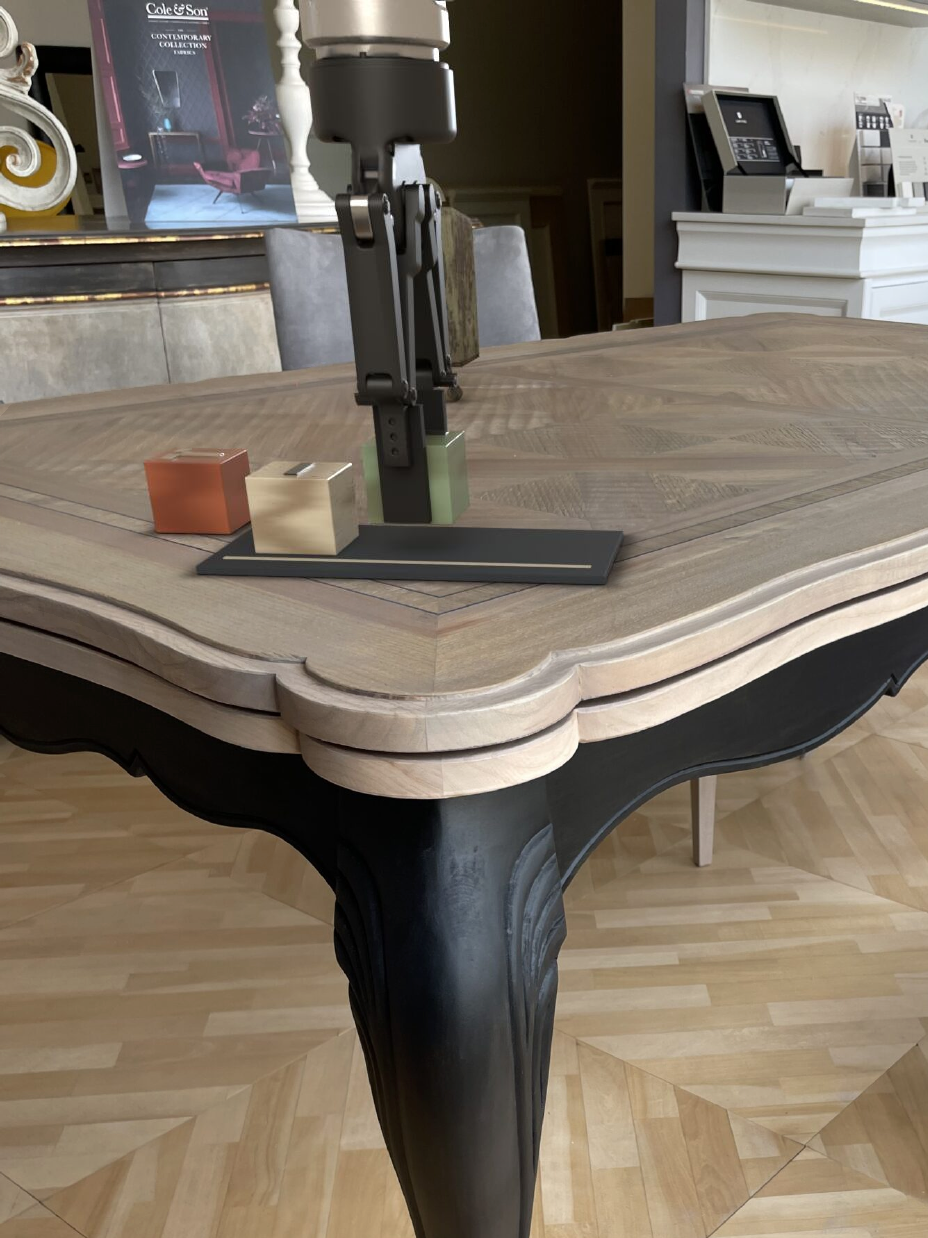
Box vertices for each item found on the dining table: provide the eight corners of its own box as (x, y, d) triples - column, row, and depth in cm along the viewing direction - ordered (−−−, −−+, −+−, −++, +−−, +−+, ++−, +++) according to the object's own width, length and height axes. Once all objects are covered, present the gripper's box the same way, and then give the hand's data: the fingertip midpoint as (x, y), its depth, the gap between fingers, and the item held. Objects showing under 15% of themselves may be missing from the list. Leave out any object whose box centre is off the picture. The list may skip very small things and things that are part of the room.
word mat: (196, 574, 76) (195, 565, 76) (261, 529, 86) (259, 521, 86) (604, 584, 75) (604, 575, 75) (623, 538, 85) (623, 529, 84)
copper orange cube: (155, 533, 85) (142, 460, 83) (185, 515, 89) (174, 445, 87) (230, 534, 85) (219, 461, 83) (257, 517, 89) (247, 447, 87)
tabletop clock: (393, 391, 141) (370, 123, 129) (478, 390, 142) (462, 124, 130) (390, 413, 128) (364, 118, 116) (483, 411, 129) (466, 119, 117)
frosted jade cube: (369, 524, 77) (360, 443, 75) (391, 505, 82) (383, 428, 79) (452, 525, 77) (446, 443, 75) (469, 506, 81) (464, 429, 79)
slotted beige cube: (255, 554, 79) (243, 475, 76) (282, 534, 83) (272, 459, 81) (336, 555, 78) (327, 477, 76) (359, 535, 83) (351, 460, 81)
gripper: (408, 41, 60) (448, 548, 71) (483, 69, 76) (507, 481, 87) (248, 42, 60) (313, 546, 72) (356, 69, 76) (396, 479, 87)
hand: (419, 510), depth 79 cm, fingers closed on frosted jade cube, 5 cm apart
